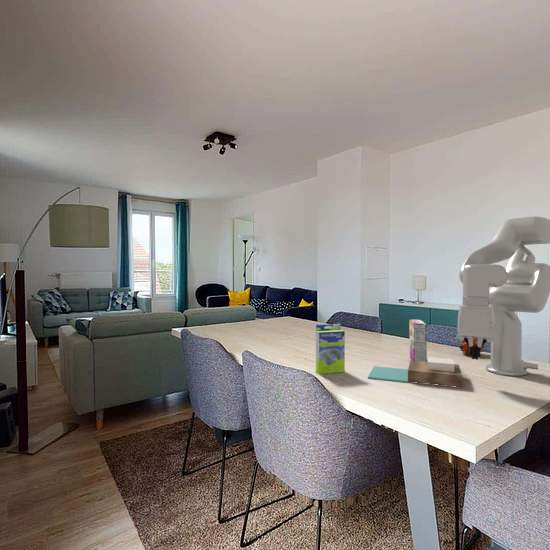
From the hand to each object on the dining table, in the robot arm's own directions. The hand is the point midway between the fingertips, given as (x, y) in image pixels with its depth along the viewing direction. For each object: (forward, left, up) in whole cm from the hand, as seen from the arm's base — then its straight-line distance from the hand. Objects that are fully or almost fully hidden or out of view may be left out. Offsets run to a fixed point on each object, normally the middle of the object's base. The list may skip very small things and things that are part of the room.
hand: (474, 358), depth 119 cm
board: (+12, -1, -8) cm, 15 cm away
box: (+47, +4, -9) cm, 48 cm away
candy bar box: (+18, -23, -9) cm, 31 cm away
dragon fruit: (-3, -44, -9) cm, 45 cm away
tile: (+10, -1, -4) cm, 11 cm away
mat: (+27, -1, -8) cm, 28 cm away
